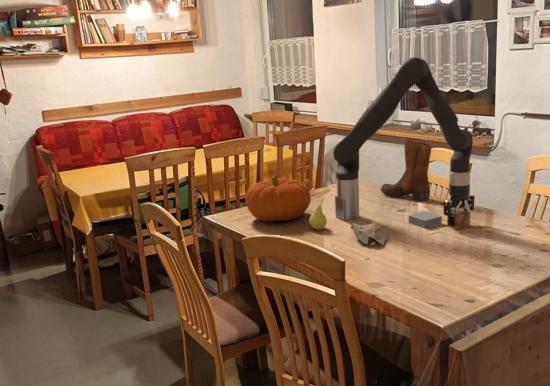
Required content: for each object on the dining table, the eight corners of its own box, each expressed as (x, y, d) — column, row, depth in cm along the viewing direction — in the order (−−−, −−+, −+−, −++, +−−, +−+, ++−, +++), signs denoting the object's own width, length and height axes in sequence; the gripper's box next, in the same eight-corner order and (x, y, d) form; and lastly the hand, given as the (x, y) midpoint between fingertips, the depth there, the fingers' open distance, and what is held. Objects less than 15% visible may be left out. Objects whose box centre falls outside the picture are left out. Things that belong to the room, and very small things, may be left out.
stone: (344, 249, 209) (381, 258, 200) (341, 232, 204) (379, 240, 196) (362, 226, 219) (398, 234, 210) (360, 209, 214) (396, 216, 206)
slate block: (424, 229, 216) (424, 220, 215) (408, 223, 224) (408, 215, 223) (441, 224, 220) (441, 216, 219) (425, 219, 228) (425, 211, 227)
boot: (377, 195, 266) (376, 140, 259) (390, 191, 271) (389, 137, 265) (421, 204, 247) (421, 145, 240) (433, 199, 252) (434, 141, 245)
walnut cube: (458, 230, 212) (459, 215, 210) (447, 226, 217) (447, 211, 215) (470, 227, 214) (470, 212, 213) (458, 223, 219) (458, 208, 218)
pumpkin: (261, 233, 223) (257, 185, 218) (237, 216, 248) (234, 172, 243) (323, 220, 234) (321, 174, 229) (294, 205, 259) (292, 163, 254)
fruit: (306, 229, 223) (305, 201, 220) (318, 224, 229) (316, 196, 226) (319, 232, 219) (318, 203, 216) (331, 227, 224) (330, 199, 221)
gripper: (465, 177, 217) (464, 217, 221) (438, 183, 211) (437, 225, 215) (480, 181, 211) (479, 222, 215) (452, 187, 204) (452, 229, 209)
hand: (458, 223), depth 215 cm, fingers open, 7 cm apart
